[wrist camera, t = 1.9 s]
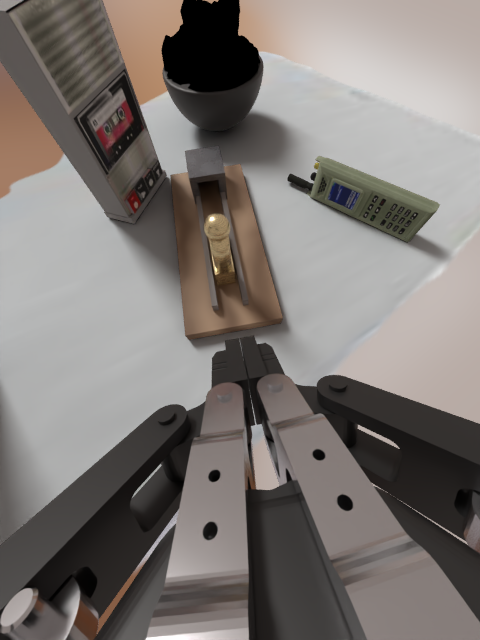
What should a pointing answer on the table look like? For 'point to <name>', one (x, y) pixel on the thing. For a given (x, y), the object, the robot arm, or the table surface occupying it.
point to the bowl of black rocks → (211, 65)
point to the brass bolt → (220, 248)
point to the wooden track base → (197, 264)
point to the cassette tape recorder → (83, 97)
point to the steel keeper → (205, 168)
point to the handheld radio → (368, 198)
